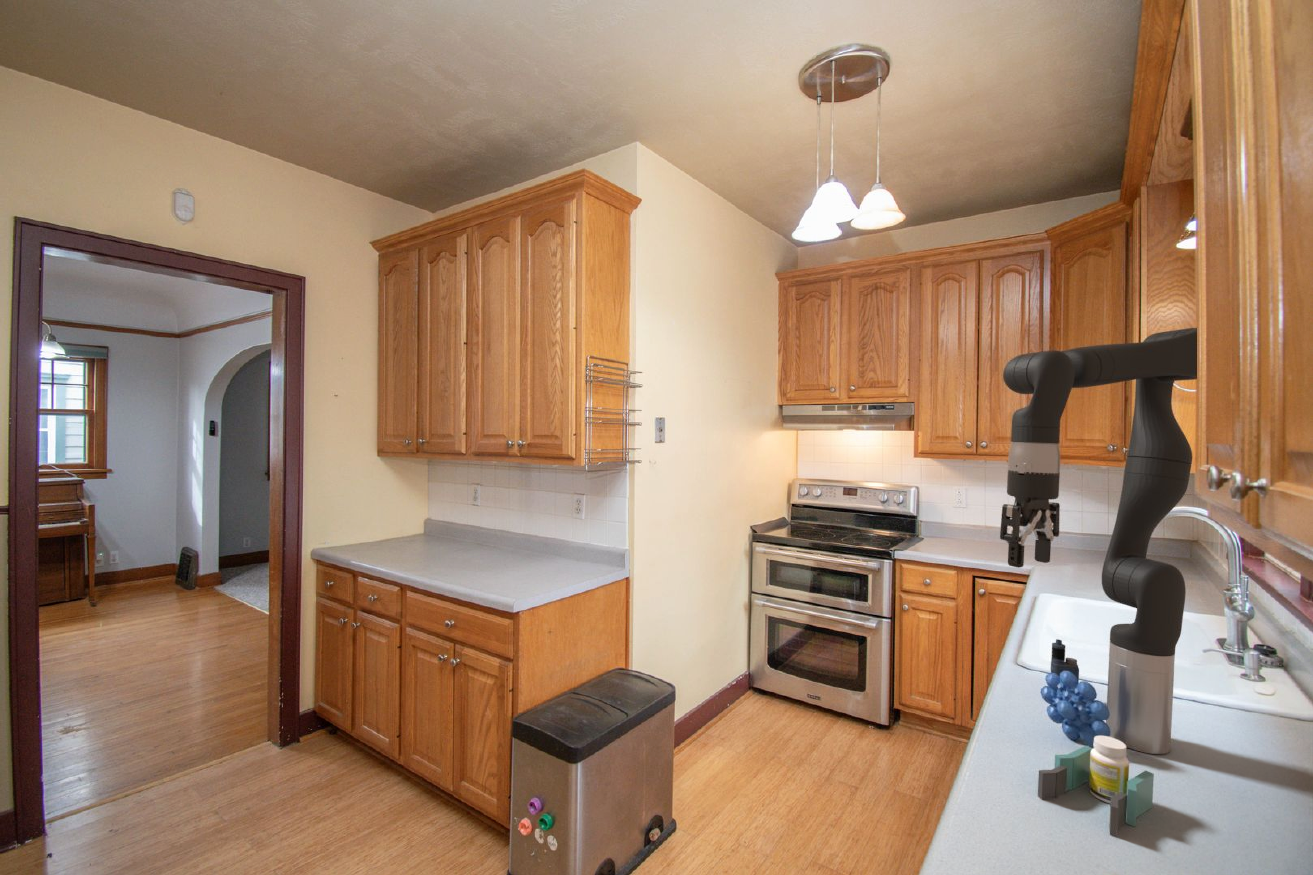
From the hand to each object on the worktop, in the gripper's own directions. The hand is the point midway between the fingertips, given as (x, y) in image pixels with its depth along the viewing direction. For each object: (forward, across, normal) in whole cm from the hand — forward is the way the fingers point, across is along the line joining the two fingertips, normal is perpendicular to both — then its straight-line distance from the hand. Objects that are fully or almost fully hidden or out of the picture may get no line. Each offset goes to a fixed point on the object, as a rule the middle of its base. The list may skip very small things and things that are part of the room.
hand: (1029, 564), depth 103 cm
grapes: (+33, -13, +2) cm, 36 cm away
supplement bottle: (+33, 0, +13) cm, 36 cm away
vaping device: (+33, -32, -8) cm, 47 cm away
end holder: (+33, 0, +13) cm, 35 cm away
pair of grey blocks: (+33, +8, +13) cm, 36 cm away
